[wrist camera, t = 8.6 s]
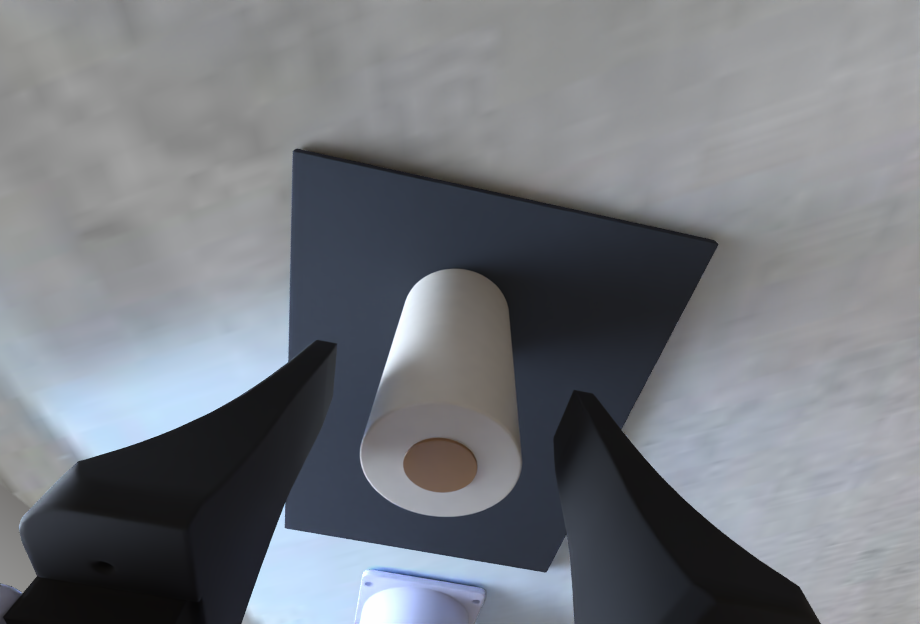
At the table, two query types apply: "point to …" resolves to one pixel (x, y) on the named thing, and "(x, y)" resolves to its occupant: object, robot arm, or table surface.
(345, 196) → the desk mat
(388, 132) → the table surface
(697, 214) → the table surface
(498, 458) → the paper roll
